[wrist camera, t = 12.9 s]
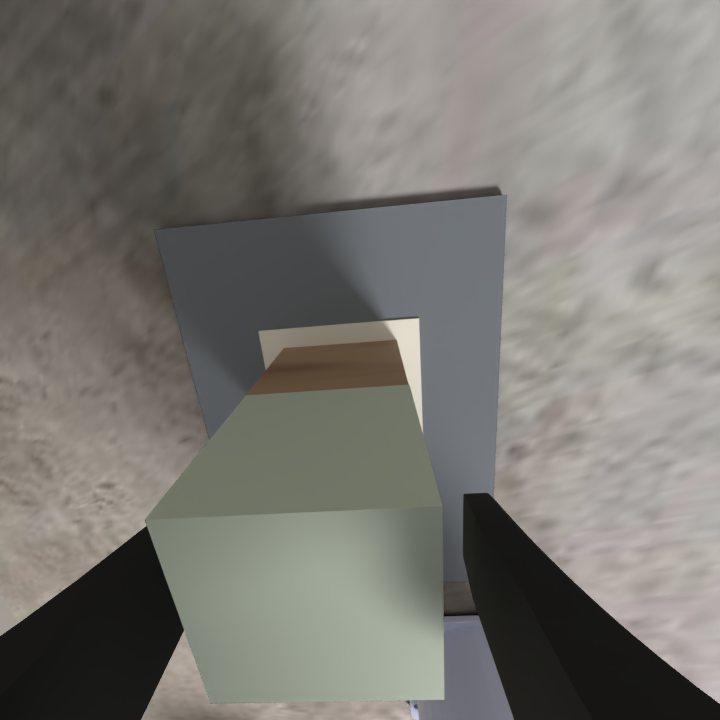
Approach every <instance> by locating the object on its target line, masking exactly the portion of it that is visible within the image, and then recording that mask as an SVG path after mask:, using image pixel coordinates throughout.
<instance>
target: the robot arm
mask: <svg viewBox="0 0 720 720" xmlns="http://www.w3.org/2000/svg"><path fill="white" fill-rule="evenodd" d="M463 558H464V563H465V567H466V571H467V576H468V580H469V584H470V588H471V592H472V597H473V600H474V603H475V606H476V609H477V612H478V615H473V616H444V700H409V701H410V714H411V717H412V718H413V719H416V720H720V704H719V703H718V702H716V701H715V700H714V699H712V698H711V697H710V696H708V695H707V694H706V693H704V692H703V691H702V690H700V689H699V688H698V687H696V686H695V685H694V684H692V683H691V682H690V681H689V680H687V679H686V678H685V677H684V676H682V675H681V674H680V673H679V672H677V671H676V670H675V669H674V668H672V667H671V666H670V665H669V664H667V663H666V662H665V661H664V660H662V659H661V658H660V657H659V656H657V655H656V654H655V653H654V652H653V651H651V650H650V649H649V648H648V647H647V646H645V645H644V644H643V643H642V642H641V641H639V640H638V639H637V638H636V637H635V636H633V635H632V634H631V633H630V632H629V631H628V630H626V629H625V628H624V627H623V626H622V625H621V624H620V623H618V622H617V621H616V620H615V619H614V618H613V617H612V616H610V615H609V614H608V613H607V612H606V611H605V610H604V609H603V608H601V607H600V606H599V605H598V604H597V603H596V602H595V601H594V600H593V599H592V598H591V597H589V596H588V595H587V594H586V593H585V592H584V591H583V590H582V589H581V588H580V587H579V586H578V585H576V584H575V583H574V582H573V581H572V580H571V579H570V578H569V577H568V576H567V575H566V574H565V573H564V572H563V571H562V570H561V569H560V568H559V567H558V566H557V565H556V564H555V563H554V562H553V561H552V560H551V559H550V558H549V557H548V556H547V555H546V554H545V553H544V552H543V551H542V550H541V549H540V548H539V547H538V546H537V545H536V544H535V543H534V542H533V541H532V540H531V539H530V538H529V537H528V536H527V535H526V534H525V532H524V531H523V530H522V529H521V528H520V527H519V526H518V525H517V524H516V523H515V522H514V521H513V520H512V518H511V517H510V516H509V515H508V514H507V513H506V512H505V511H504V510H503V508H502V507H501V506H500V505H499V504H498V503H497V502H496V501H495V499H494V498H493V497H492V496H491V495H490V494H489V493H471V494H463ZM183 631H184V628H183V625H182V622H181V619H180V617H179V614H178V611H177V608H176V606H175V603H174V600H173V597H172V594H171V592H170V589H169V586H168V583H167V581H166V578H165V575H164V572H163V569H162V567H161V564H160V561H159V558H158V556H157V553H156V550H155V547H154V544H153V542H152V539H151V536H150V533H149V531H148V528H147V526H146V527H145V528H143V529H142V530H141V531H140V532H138V533H137V534H136V535H134V536H133V537H132V538H131V539H129V540H128V541H127V542H125V543H124V544H123V545H122V546H120V547H119V548H118V549H117V550H115V551H114V552H113V553H111V554H110V555H109V556H108V557H106V558H105V559H104V560H102V561H101V562H100V563H99V564H97V565H96V566H95V567H93V568H92V569H91V570H90V571H88V572H87V573H86V574H85V575H83V576H82V577H81V578H79V579H78V580H77V581H75V582H74V583H73V584H71V585H70V586H69V587H67V588H66V589H65V590H63V591H62V592H60V593H59V594H58V595H56V596H55V597H54V598H52V599H51V600H50V601H48V602H47V603H46V604H44V605H43V606H42V607H40V608H39V609H37V610H36V611H35V612H33V613H32V614H31V615H29V616H28V617H27V618H25V619H24V620H23V621H21V622H20V623H18V624H17V625H15V626H14V627H13V628H11V629H10V630H8V631H7V632H6V633H4V634H3V635H1V636H0V720H141V718H142V716H143V714H144V712H145V710H146V708H147V706H148V704H149V702H150V700H151V698H152V696H153V694H154V691H155V689H156V687H157V685H158V683H159V681H160V679H161V677H162V675H163V673H164V671H165V669H166V667H167V665H168V662H169V660H170V658H171V656H172V654H173V652H174V650H175V648H176V646H177V644H178V642H179V640H180V637H181V635H182V633H183Z"/></svg>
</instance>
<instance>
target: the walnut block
mask: <svg viewBox="0 0 720 720" xmlns="http://www.w3.org/2000/svg"><path fill="white" fill-rule="evenodd" d="M394 385H409V384H408V380H407V377H406V373H405V369H404V365H403V362H402V358H401V354H400V350H399V347H398V343H397V340H387V341H374V342H360V343H346V344H332V345H319V346H305V347H291V348H283V350H282V351H281V352H280V353H279V355H278V356H277V357H276V358H275V360H274V361H273V362H272V363H271V364H270V366H269V367H268V368H267V369H266V371H265V372H264V373H263V374H262V375H261V377H260V378H259V379H258V380H257V382H256V383H255V384H254V385H253V387H252V388H251V389H250V390H249V391H248V393H247V394H246V395H259V394H274V393H289V392H304V391H319V390H334V389H349V388H364V387H379V386H394ZM246 395H245V396H246Z"/></svg>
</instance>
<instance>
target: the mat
mask: <svg viewBox="0 0 720 720" xmlns="http://www.w3.org/2000/svg"><path fill="white" fill-rule="evenodd" d="M506 205H507V195H498V196H488V197H478V198H468V199H457V200H447V201H437V202H427V203H417V204H407V205H397V206H387V207H377V208H367V209H357V210H347V211H337V212H327V213H317V214H307V215H297V216H286V217H276V218H266V219H256V220H246V221H236V222H226V223H216V224H206V225H196V226H186V227H176V228H166V229H156V230H154V232H155V236H156V240H157V243H158V247H159V251H160V255H161V259H162V262H163V266H164V270H165V274H166V277H167V281H168V285H169V289H170V293H171V296H172V300H173V304H174V308H175V312H176V315H177V319H178V323H179V327H180V331H181V334H182V338H183V342H184V346H185V349H186V353H187V357H188V361H189V365H190V368H191V372H192V376H193V380H194V384H195V387H196V391H197V395H198V399H199V403H200V406H201V410H202V414H203V418H204V421H205V425H206V429H207V433H208V437H209V440H210V439H211V438H212V436H213V435H214V434H215V433H216V431H217V430H218V429H219V428H220V427H221V425H222V424H223V423H224V422H225V420H226V419H227V418H228V417H229V415H230V414H231V413H232V412H233V411H234V409H235V408H236V407H237V406H238V404H239V403H240V402H241V401H242V399H243V398H244V397H245V395H246V394H247V393H248V391H249V390H250V389H251V388H252V387H253V385H254V384H255V383H256V382H257V380H258V379H259V378H260V377H261V375H262V374H263V373H264V372H265V371H266V369H267V368H268V367H269V366H270V364H271V363H272V362H273V361H274V360H275V358H276V357H277V356H278V355H279V353H280V352H281V351H282V350H283V348H291V347H305V346H319V345H332V344H346V343H360V342H374V341H387V340H397V343H398V347H399V350H400V354H401V358H402V362H403V365H404V369H405V373H406V377H407V380H408V384H409V385H410V388H411V392H412V396H413V399H414V403H415V407H416V410H417V414H418V418H419V421H420V425H421V429H422V432H423V436H424V440H425V443H426V447H427V451H428V454H429V458H430V462H431V465H432V469H433V473H434V476H435V480H436V484H437V487H438V491H439V495H440V498H441V502H442V506H443V583H445V582H469V580H468V576H467V571H466V567H465V563H464V558H463V494H471V493H489V494H490V495H491V496H492V497H493V498H494V476H495V454H496V431H497V408H498V386H499V363H500V341H501V318H502V295H503V273H504V250H505V228H506Z"/></svg>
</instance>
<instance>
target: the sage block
mask: <svg viewBox="0 0 720 720" xmlns="http://www.w3.org/2000/svg"><path fill="white" fill-rule="evenodd" d="M145 522H146V525H147V528H148V531H149V533H150V536H151V539H152V542H153V544H154V547H155V550H156V553H157V556H158V558H159V561H160V564H161V567H162V569H163V572H164V575H165V578H166V581H167V583H168V586H169V589H170V592H171V594H172V597H173V600H174V603H175V606H176V608H177V611H178V614H179V617H180V619H181V622H182V625H183V628H184V631H185V633H186V636H187V639H188V642H189V644H190V647H191V650H192V653H193V656H194V658H195V661H196V664H197V667H198V669H199V672H200V675H201V678H202V681H203V683H204V686H205V689H206V692H207V695H208V697H209V700H210V703H211V704H222V703H281V702H340V701H400V700H444V603H443V506H442V502H441V498H440V495H439V491H438V487H437V484H436V480H435V476H434V473H433V469H432V465H431V462H430V458H429V454H428V451H427V447H426V443H425V440H424V436H423V432H422V429H421V425H420V421H419V418H418V414H417V410H416V407H415V403H414V399H413V396H412V392H411V388H410V385H394V386H379V387H364V388H349V389H334V390H319V391H304V392H289V393H274V394H259V395H246V396H245V397H244V398H243V399H242V401H241V402H240V403H239V404H238V406H237V407H236V408H235V409H234V411H233V412H232V413H231V414H230V415H229V417H228V418H227V419H226V420H225V422H224V423H223V424H222V425H221V427H220V428H219V429H218V430H217V431H216V433H215V434H214V435H213V436H212V438H211V439H210V440H209V441H208V443H207V444H206V445H205V446H204V448H203V449H202V450H201V451H200V452H199V454H198V455H197V456H196V457H195V459H194V460H193V461H192V462H191V464H190V465H189V466H188V467H187V468H186V470H185V471H184V472H183V473H182V475H181V476H180V477H179V478H178V480H177V481H176V482H175V483H174V484H173V486H172V487H171V488H170V489H169V491H168V492H167V493H166V494H165V496H164V497H163V498H162V499H161V501H160V502H159V503H158V504H157V505H156V507H155V508H154V509H153V510H152V512H151V513H150V514H149V515H148V517H147V518H146V519H145Z"/></svg>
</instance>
